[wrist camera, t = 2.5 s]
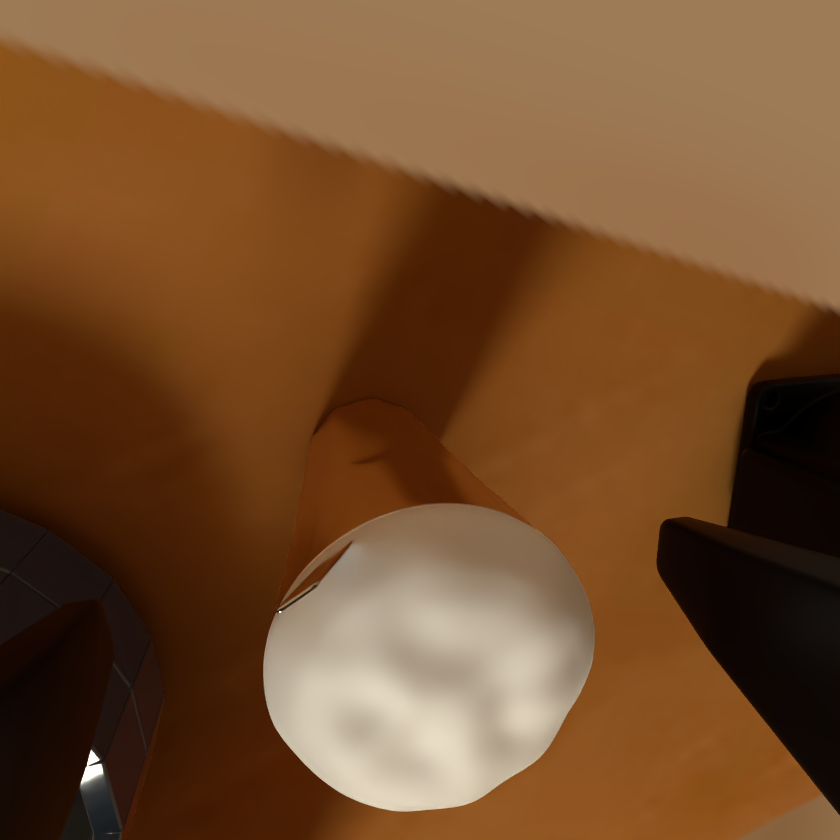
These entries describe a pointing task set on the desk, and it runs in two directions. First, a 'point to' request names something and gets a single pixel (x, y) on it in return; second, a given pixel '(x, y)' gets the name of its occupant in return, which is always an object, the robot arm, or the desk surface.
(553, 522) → the desk surface
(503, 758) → the milkshake
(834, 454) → the robot arm
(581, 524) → the desk surface
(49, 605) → the bowl
